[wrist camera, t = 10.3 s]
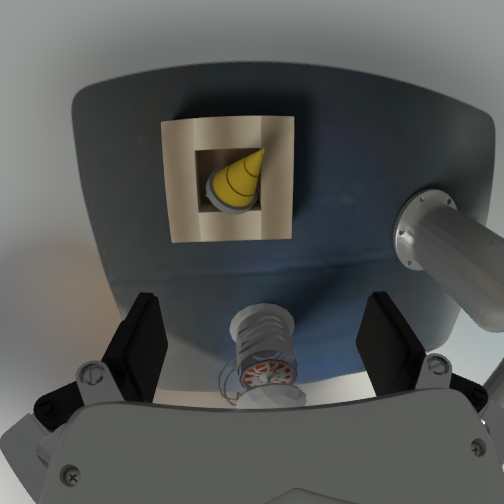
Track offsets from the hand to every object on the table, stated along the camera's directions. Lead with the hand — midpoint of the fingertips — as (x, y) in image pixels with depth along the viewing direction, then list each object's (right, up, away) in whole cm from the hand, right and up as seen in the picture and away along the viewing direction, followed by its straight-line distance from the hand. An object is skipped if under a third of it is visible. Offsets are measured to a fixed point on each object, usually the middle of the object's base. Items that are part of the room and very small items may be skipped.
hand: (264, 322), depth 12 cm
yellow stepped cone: (-2, +11, +18) cm, 21 cm away
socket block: (-3, +12, +19) cm, 22 cm away
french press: (0, -9, +29) cm, 30 cm away
